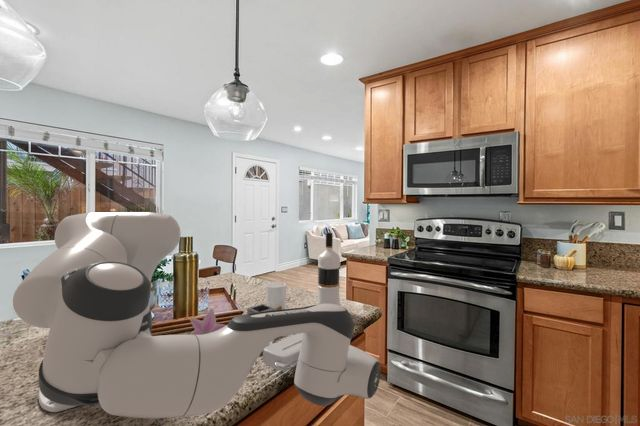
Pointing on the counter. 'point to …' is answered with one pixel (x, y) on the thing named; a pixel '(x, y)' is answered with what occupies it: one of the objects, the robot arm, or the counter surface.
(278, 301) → the white cup
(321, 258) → the vodka
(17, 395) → the counter surface
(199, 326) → the lily
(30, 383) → the counter surface
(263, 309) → the sleeve
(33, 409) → the counter surface
